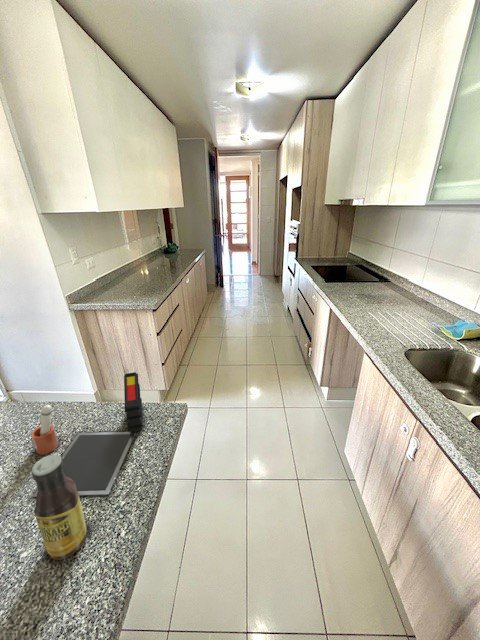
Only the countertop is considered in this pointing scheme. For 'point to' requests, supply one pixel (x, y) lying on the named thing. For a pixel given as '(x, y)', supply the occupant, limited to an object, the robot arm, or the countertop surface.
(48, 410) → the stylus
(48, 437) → the holder
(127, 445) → the tablet
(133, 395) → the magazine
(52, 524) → the sauce bottle
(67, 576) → the countertop surface
